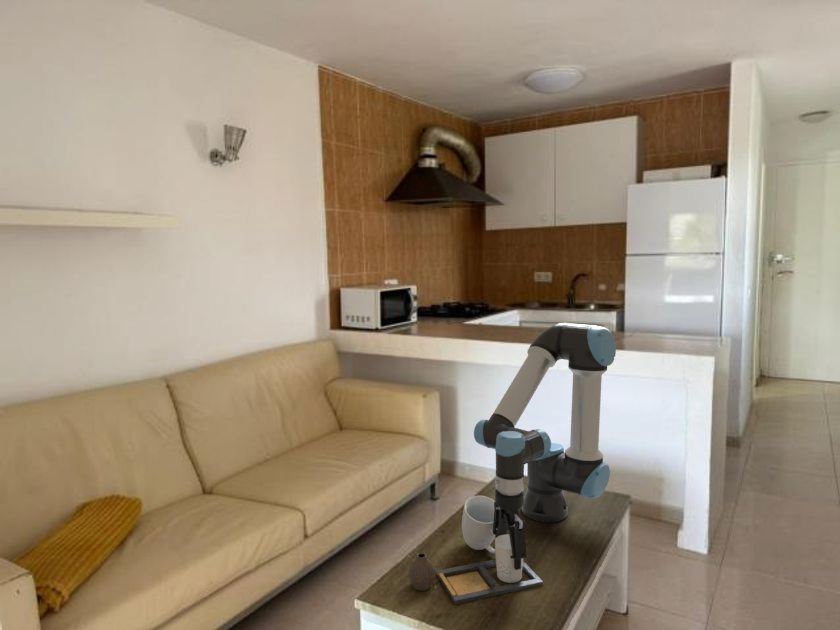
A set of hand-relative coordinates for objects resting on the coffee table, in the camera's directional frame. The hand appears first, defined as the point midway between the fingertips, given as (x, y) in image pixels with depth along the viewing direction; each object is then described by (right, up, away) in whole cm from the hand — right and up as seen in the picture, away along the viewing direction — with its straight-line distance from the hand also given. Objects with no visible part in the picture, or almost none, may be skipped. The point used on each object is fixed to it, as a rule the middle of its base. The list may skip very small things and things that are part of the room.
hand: (508, 570), depth 155 cm
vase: (-24, -3, -4) cm, 24 cm away
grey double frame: (-6, -2, -1) cm, 6 cm away
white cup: (0, -2, 0) cm, 2 cm away
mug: (-6, +1, +16) cm, 17 cm away
